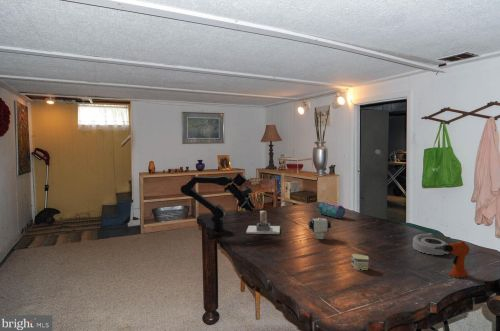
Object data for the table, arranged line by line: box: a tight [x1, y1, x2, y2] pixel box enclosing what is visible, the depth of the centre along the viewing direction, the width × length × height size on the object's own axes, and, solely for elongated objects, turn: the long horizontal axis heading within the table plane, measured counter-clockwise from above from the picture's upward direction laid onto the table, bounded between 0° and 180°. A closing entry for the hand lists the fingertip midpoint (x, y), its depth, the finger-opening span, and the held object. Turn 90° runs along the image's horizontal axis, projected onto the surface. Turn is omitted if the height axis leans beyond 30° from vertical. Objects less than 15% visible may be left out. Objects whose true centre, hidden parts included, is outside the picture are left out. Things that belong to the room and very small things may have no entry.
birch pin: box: [259, 210, 268, 226], centre depth 196 cm, size 4×4×11 cm
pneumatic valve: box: [307, 217, 332, 240], centre depth 179 cm, size 6×12×12 cm, turn 94°
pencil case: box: [316, 201, 346, 219], centre depth 231 cm, size 21×9×10 cm, turn 31°
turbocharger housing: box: [412, 232, 450, 255], centre depth 157 cm, size 17×7×15 cm
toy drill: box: [434, 241, 471, 278], centre depth 126 cm, size 5×18×14 cm, turn 109°
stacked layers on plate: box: [351, 253, 370, 271], centre depth 136 cm, size 10×9×6 cm
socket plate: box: [245, 222, 281, 235], centre depth 196 cm, size 20×14×4 cm
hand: (253, 209), depth 196 cm, fingers open, 9 cm apart
